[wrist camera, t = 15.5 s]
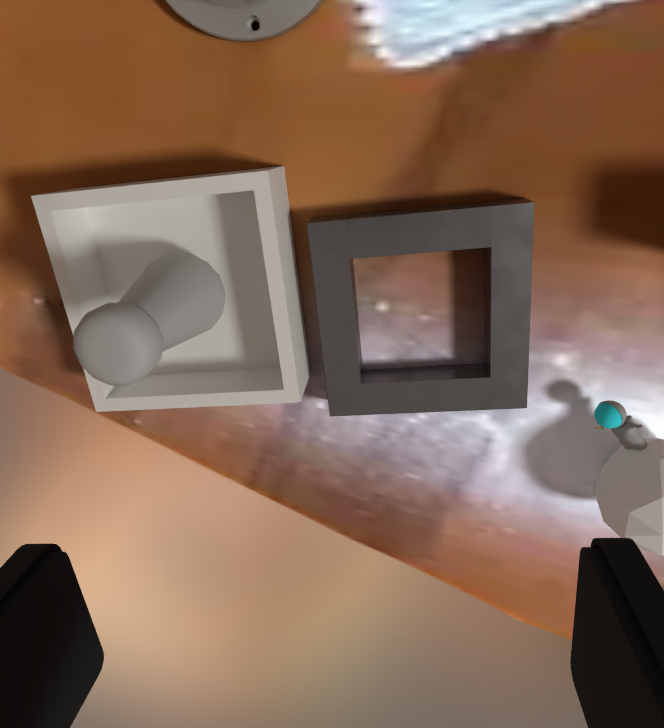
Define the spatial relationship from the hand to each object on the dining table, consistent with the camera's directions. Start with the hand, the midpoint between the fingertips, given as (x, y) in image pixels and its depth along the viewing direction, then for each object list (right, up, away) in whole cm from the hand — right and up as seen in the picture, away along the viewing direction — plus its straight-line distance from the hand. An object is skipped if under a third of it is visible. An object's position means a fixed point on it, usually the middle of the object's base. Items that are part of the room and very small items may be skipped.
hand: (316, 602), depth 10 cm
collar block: (+7, +8, +29) cm, 31 cm away
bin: (-10, +10, +30) cm, 33 cm away
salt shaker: (-10, +10, +29) cm, 32 cm away
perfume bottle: (+23, -2, +32) cm, 39 cm away
